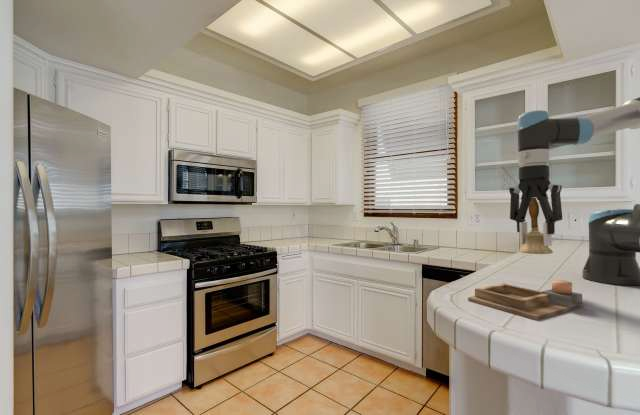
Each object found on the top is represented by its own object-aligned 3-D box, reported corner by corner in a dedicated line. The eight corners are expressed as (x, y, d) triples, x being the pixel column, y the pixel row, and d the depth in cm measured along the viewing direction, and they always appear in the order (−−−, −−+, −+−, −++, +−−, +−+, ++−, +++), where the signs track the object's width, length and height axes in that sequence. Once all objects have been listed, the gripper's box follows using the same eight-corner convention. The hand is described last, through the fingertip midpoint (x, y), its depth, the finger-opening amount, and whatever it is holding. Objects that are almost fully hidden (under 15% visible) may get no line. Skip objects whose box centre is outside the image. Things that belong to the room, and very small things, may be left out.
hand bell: (536, 254, 92) (535, 197, 92) (512, 251, 100) (511, 198, 100) (560, 253, 94) (558, 196, 94) (534, 249, 102) (533, 197, 102)
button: (557, 289, 84) (557, 279, 84) (575, 292, 81) (575, 282, 81) (548, 290, 82) (548, 281, 82) (566, 294, 79) (566, 284, 79)
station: (514, 291, 96) (514, 279, 96) (583, 306, 81) (583, 293, 81) (468, 300, 86) (468, 288, 86) (536, 320, 71) (536, 305, 71)
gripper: (494, 168, 103) (496, 242, 103) (563, 160, 86) (565, 249, 87) (509, 169, 107) (511, 241, 107) (577, 161, 90) (579, 246, 90)
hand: (535, 244), depth 97 cm, fingers closed on hand bell, 6 cm apart
